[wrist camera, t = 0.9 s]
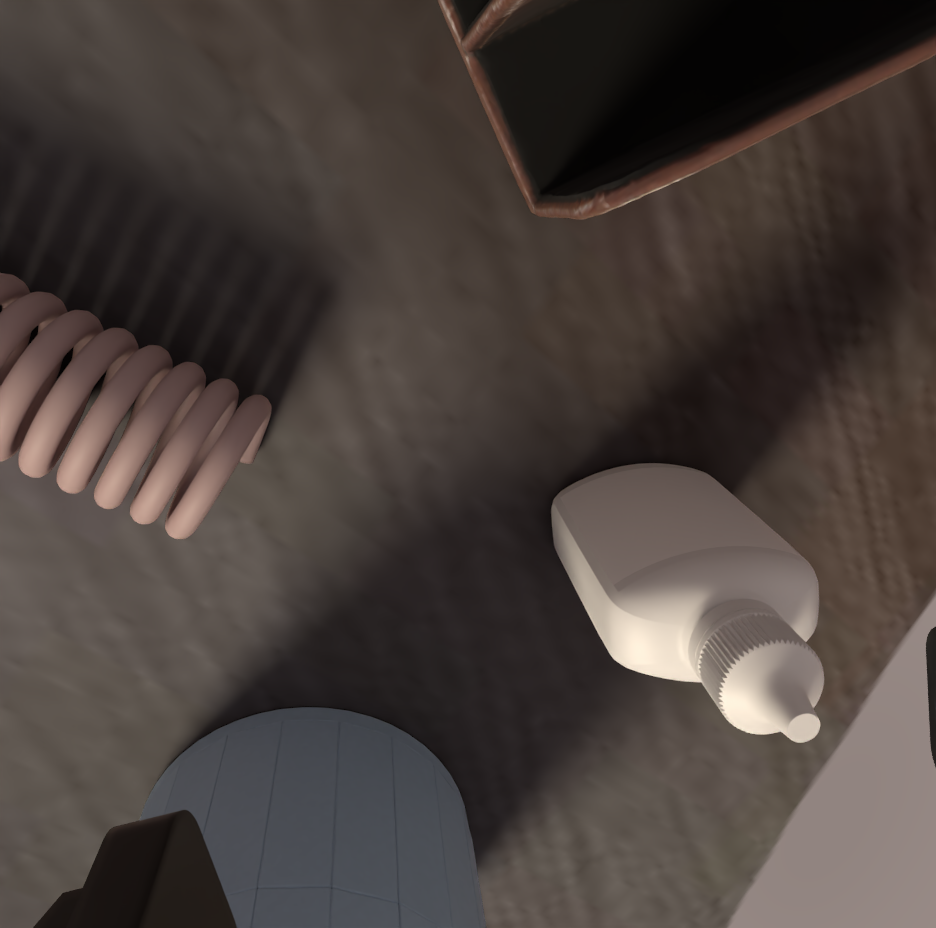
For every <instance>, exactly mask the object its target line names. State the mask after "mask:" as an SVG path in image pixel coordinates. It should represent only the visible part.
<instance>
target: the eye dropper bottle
mask: <svg viewBox="0 0 936 928" xmlns="http://www.w3.org/2000/svg"><path fill="white" fill-rule="evenodd" d="M551 519H552V531H553V541H554V547H555V549H556V552H557V554H558V556H559V558H560V560H561V562H562V564H563V566H564V568H565V570H566V572H567V574H568V576H569V578H570V580H571V582H572V584H573V586H574V588H575V590H576V592H577V594H578V595H579V597H580V599H581V601H582V603H583V605H584V607H585V609H586V611H587V613H588V615H589V617H590V619H591V621H592V623H593V624H594V626H595V628H596V630H597V632H598V634H599V636H600V638H601V639H602V641H603V643H604V645H605V647H606V648H607V650H608V652H609V654H610V655H611V656H612V657H613V659H614V660H615V661H617V662H618V663H620V664H621V665H623V666H624V667H626V668H628V669H631V670H634V671H637V672H640V673H643V674H647V675H651V676H655V677H660V678H664V679H671V680H677V681H688V682H702V684H703V685H704V687H705V688H706V690H707V691H708V693H709V694H710V696H711V697H712V699H713V700H714V702H715V703H716V705H717V707H718V708H719V710H720V711H721V713H722V714H723V716H724V717H725V718H726V720H728V721H729V723H731V724H732V725H733V726H735V727H736V728H737V729H741V731H746V732H747V733H751V734H772V733H777V732H780V731H781V732H782V733H784V734H785V735H786V736H787V737H789V738H790V739H791V740H792V741H794V742H798V743H803V742H807V741H809V740H811V739H812V738H814V737H815V736H816V735H817V733H818V732H819V729H820V721H819V719H818V717H817V715H816V713H815V711H814V709H813V708H814V707H815V705H816V704H817V702H818V700H819V698H820V696H821V693H822V690H823V685H824V672H823V667H822V663H821V662H820V659H819V658H818V656H817V654H816V653H815V652H814V651H813V650H812V649H811V648H810V647H809V645H808V644H807V643H806V641H807V640H808V639H809V638H810V637H811V636H812V634H813V633H814V630H815V628H816V625H817V621H818V611H819V589H818V580H817V577H816V575H815V572H814V569H813V568H812V566H811V565H810V564H809V562H808V561H807V560H805V559H804V558H803V557H802V556H801V555H800V554H799V553H798V552H797V551H796V550H795V549H794V548H793V547H792V546H791V545H790V544H788V543H787V542H786V541H785V540H784V539H783V538H782V537H781V536H779V535H778V534H777V533H776V532H775V531H774V530H773V529H771V528H770V527H769V526H768V525H767V524H766V523H765V522H764V521H762V520H761V519H760V518H759V517H758V516H757V515H756V514H754V513H753V512H752V511H751V510H750V509H749V508H748V507H746V506H745V505H744V504H743V503H742V502H741V501H739V500H738V499H737V498H736V497H735V496H734V495H733V494H731V493H730V492H729V491H728V490H727V489H726V488H725V487H723V486H722V485H721V484H720V483H719V482H718V481H716V480H715V479H714V478H712V477H711V476H710V475H709V474H707V473H705V472H702V471H699V470H697V469H693V468H689V467H684V466H679V465H672V464H662V463H642V464H632V465H625V466H620V467H616V468H612V469H608V470H605V471H602V472H599V473H596V474H593V475H591V476H588V477H586V478H584V479H582V480H579V481H577V482H575V483H574V484H572V485H570V486H568V487H567V488H565V489H563V490H562V491H560V492H559V494H558V495H557V496H556V497H555V498H554V500H553V503H552V507H551Z"/></svg>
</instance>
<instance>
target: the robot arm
mask: <svg viewBox="0 0 936 928" xmlns="http://www.w3.org/2000/svg"><path fill="white" fill-rule="evenodd" d="M926 654H927V655H926V657H927V677H928V698H929V699H928V700H929V721H930V741H931V751H932V756H933V760H934V763H935V767H936V627H934V628H933V629H931V631H930V632H929V634H928V637H927V642H926ZM33 928H237V926H236V923H235V920H234V917H233V914H232V911H231V909H230V906H229V903H228V901H227V898H226V896H225V893H224V890H223V888H222V885H221V882H220V880H219V877H218V875H217V872H216V869H215V867H214V864H213V862H212V859H211V856H210V854H209V851H208V848H207V846H206V843H205V841H204V838H203V835H202V833H201V830H200V828H199V825H198V823H197V821H196V819H195V817H194V816H193V815H192V814H191V812H189V811H188V810H181V811H177V812H172V813H168V814H164V815H160V816H156V817H152V818H148V819H144V820H140V821H136V822H132V823H128V824H124V825H120V826H116V827H113V828H112V829H110V830H109V831H108V833H107V834H106V836H105V838H104V840H103V842H102V844H101V847H100V849H99V851H98V854H97V856H96V858H95V861H94V863H93V865H92V868H91V870H90V872H89V875H88V877H87V879H86V882H85V884H84V886H83V888H81V889H77V890H73V891H69V892H65V893H62V895H61V896H60V897H59V898H58V899H57V900H56V902H55V903H54V904H53V905H52V906H51V907H50V909H49V910H48V911H47V912H46V913H45V914H44V916H43V917H42V918H41V919H40V920H39V921H38V923H37V924H36V925H35V926H34V927H33Z"/></svg>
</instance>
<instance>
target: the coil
mask: <svg viewBox="0 0 936 928" xmlns="http://www.w3.org/2000/svg"><path fill="white" fill-rule="evenodd" d="M0 305H2V312H0V461H4V460H6V459H8V458H10V457H12V456H13V455H14V454H15V453H16V452H17V451H18V450H19V449H20V447H21V449H20V453H19V467H20V469H21V470H22V472H23V473H24V474H26V475H28V476H30V477H42V476H44V475H46V474H47V473H49V472H50V471H51V470H52V468H53V467H54V466H55V464H56V463H57V461H58V460H59V458H60V456H61V455H62V453H63V451H64V450H65V448H66V446H67V444H68V442H69V441H70V439H71V437H72V435H73V433H74V431H75V429H76V427H77V425H78V423H79V420H80V418H81V416H82V414H83V412H84V409H85V407H86V404H87V402H88V400H89V397H90V394H91V392H92V389H93V387H94V386H95V384H96V383H97V382H98V380H99V379H100V378H101V376H102V375H103V374H104V373H105V372H106V370H107V372H106V376H105V379H104V383H103V386H102V389H101V392H100V394H99V396H98V398H97V399H96V401H95V402H94V404H93V405H92V407H91V409H90V410H89V412H88V413H87V415H86V417H85V418H84V420H83V422H82V423H81V425H80V427H79V429H78V430H77V432H76V434H75V436H74V437H73V439H72V441H71V443H70V445H69V447H68V449H67V451H66V453H65V455H64V457H63V459H62V461H61V464H60V466H59V469H58V472H57V483H58V485H59V486H60V488H61V489H62V490H63V491H65V492H67V493H78V492H80V491H82V490H84V489H85V488H86V486H87V485H88V483H89V482H90V480H91V478H92V477H93V475H94V473H95V472H96V470H97V468H98V466H99V464H100V462H101V460H102V458H103V456H104V454H105V452H106V450H107V448H108V446H109V444H110V441H111V439H112V437H113V435H114V433H115V430H116V429H117V427H118V425H119V424H120V422H121V421H122V419H123V417H124V416H125V414H126V413H127V411H128V410H129V408H130V407H131V405H132V404H133V402H134V401H135V400H136V402H135V405H134V407H133V410H132V413H131V415H130V418H129V421H128V423H127V426H126V428H125V430H124V433H123V435H122V438H121V440H120V442H119V444H118V446H117V448H116V450H115V451H114V453H113V455H112V457H111V459H110V460H109V462H108V464H107V466H106V468H105V470H104V471H103V473H102V475H101V477H100V479H99V481H98V483H97V485H96V488H95V490H94V499H95V501H96V502H97V504H98V505H99V506H101V507H103V508H105V509H114V508H115V507H117V506H119V505H120V504H121V503H122V501H123V500H124V498H125V496H126V494H127V493H128V491H129V489H130V487H131V485H132V484H133V482H134V480H135V478H136V476H137V475H138V473H139V471H140V470H141V468H142V466H143V464H144V463H145V461H146V459H147V458H148V456H149V454H150V452H151V451H152V449H153V447H154V446H155V444H156V443H157V441H158V439H159V438H160V439H159V442H158V444H157V447H156V449H155V452H154V454H153V456H152V459H151V461H150V463H149V466H148V468H147V470H146V473H145V475H144V477H143V479H142V482H141V484H140V486H139V488H138V490H137V493H136V495H135V497H134V499H133V501H132V504H131V506H130V515H131V516H132V518H133V520H134V521H136V522H138V523H140V524H150V523H152V522H153V521H155V520H157V518H158V517H159V515H160V514H161V512H162V511H163V509H164V508H165V506H166V504H167V503H168V501H169V500H170V498H171V496H172V495H173V493H174V491H175V490H176V488H177V486H178V485H179V486H178V488H177V491H176V493H175V496H174V498H173V501H172V503H171V506H170V508H169V511H168V514H167V517H166V520H165V529H166V531H167V533H168V534H169V536H171V537H173V538H175V539H185V538H187V537H189V536H190V535H192V534H193V533H194V532H195V530H196V529H197V528H198V526H199V525H200V524H201V522H202V521H203V519H204V518H205V516H206V515H207V513H208V511H209V510H210V508H211V507H212V505H213V504H214V502H215V500H216V499H217V497H218V495H219V494H220V492H221V491H222V489H223V487H224V486H225V484H226V482H227V481H228V479H229V477H230V476H231V474H232V472H233V471H234V469H235V467H236V466H237V464H238V462H243V463H248V464H251V463H253V461H254V459H255V456H256V454H257V451H258V449H259V446H260V444H261V441H262V438H263V436H264V433H265V431H266V428H267V425H268V422H269V419H270V416H271V404H270V402H269V400H268V399H267V398H266V397H264V396H263V395H252V396H250V397H248V398H246V399H245V400H244V401H243V402H242V404H241V405H240V406H239V408H238V409H237V410H236V408H237V404H238V398H239V390H238V388H237V386H236V384H235V383H234V382H232V381H231V380H229V379H223V378H220V379H218V380H215V381H213V382H212V383H210V384H209V385H208V386H207V387H206V388H205V384H206V375H205V373H204V371H203V369H202V367H200V366H199V365H197V364H196V363H194V362H184V363H181V364H179V365H177V366H175V367H174V368H173V369H172V367H173V364H172V359H171V356H170V354H169V352H168V351H167V350H165V349H164V348H162V347H161V346H157V345H148V346H146V347H143V348H141V349H139V348H138V344H137V341H136V339H135V337H134V335H133V334H131V333H130V332H129V331H127V330H126V329H123V328H110V329H107V330H105V331H104V330H103V327H102V325H101V323H100V321H99V319H98V318H97V317H96V316H94V315H93V314H92V313H90V312H89V311H83V310H73V311H70V312H67V309H66V307H65V305H64V303H63V302H62V300H60V299H59V298H58V297H56V296H55V295H53V294H52V293H46V292H33V293H30V291H29V289H28V287H27V285H26V284H25V283H24V282H23V281H22V280H20V279H19V278H17V277H16V276H14V275H11V274H4V273H0ZM36 326H38V335H37V336H36V337H35V339H34V340H33V341H32V342H31V343H30V344H29V346H28V343H29V339H30V335H31V331H32V330H33V329H34V328H35V327H36ZM27 346H28V347H27ZM73 347H74V349H73V355H72V360H71V362H70V363H69V365H68V366H67V367H66V369H65V370H64V371H63V373H62V374H61V376H60V377H59V378H58V380H57V381H56V379H57V376H58V373H59V370H60V367H61V364H62V361H63V357H64V356H65V355H66V354H67V353H68V352H69V351H70V350H71V349H72V348H73ZM55 381H56V383H55ZM136 398H137V399H136ZM160 436H161V437H160Z"/></svg>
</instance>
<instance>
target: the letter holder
mask: <svg viewBox="0 0 936 928" xmlns="http://www.w3.org/2000/svg"><path fill="white" fill-rule="evenodd" d="M438 3H439V5H440V8H441V10H442V12H443V15H444V17H445V20H446V22H447V24H448V26H449V29H450V31H451V33H452V35H453V38H454V40H455V42H456V44H457V47H458V49H459V51H460V53H461V56H462V58H463V60H464V63H465V65H466V67H467V70H468V72H469V74H470V77H471V79H472V81H473V84H474V86H475V88H476V91H477V93H478V96H479V98H480V100H481V102H482V105H483V107H484V109H485V111H486V114H487V116H488V118H489V120H490V122H491V124H492V127H493V129H494V132H495V134H496V136H497V139H498V141H499V143H500V145H501V147H502V150H503V153H504V155H505V157H506V159H507V161H508V163H509V166H510V168H511V170H512V173H513V175H514V177H515V179H516V181H517V184H518V186H519V188H520V190H521V192H522V194H523V196H524V198H525V200H526V202H527V205H528V207H529V209H530V211H531V213H533V214H535V215H537V216H541V217H548V218H549V217H552V218H553V217H558V218H559V217H560V218H571V219H578V220H579V219H587V218H590V217H593V216H597V215H601V214H604V213H606V212H608V211H611V210H613V209H615V208H618V207H621V206H623V205H625V204H627V203H629V202H631V201H634V200H637V199H640V198H641V197H643V196H645V195H647V194H649V193H652V192H655V191H657V190H659V189H661V188H663V187H665V186H668V185H670V184H672V183H674V182H677V181H679V180H681V179H683V178H686V177H688V176H690V175H692V174H695V173H697V172H699V171H701V170H703V169H705V168H707V167H709V166H711V165H714V164H716V163H718V162H720V161H722V160H724V159H726V158H728V157H730V156H732V155H734V154H736V153H738V152H740V151H742V150H744V149H746V148H748V147H750V146H752V145H754V144H756V143H758V142H760V141H762V140H764V139H766V138H768V137H770V136H772V135H774V134H776V133H778V132H780V131H782V130H784V129H786V128H788V127H790V126H792V125H794V124H796V123H798V122H800V121H802V120H804V119H806V118H808V117H810V116H812V115H815V114H817V113H819V112H821V111H823V110H825V109H827V108H829V107H831V106H833V105H835V104H837V103H839V102H841V101H843V100H845V99H847V98H849V97H851V96H853V95H855V94H857V93H860V92H862V91H863V90H865V89H867V88H869V87H871V86H873V85H876V84H878V83H880V82H882V81H884V80H886V79H888V78H890V77H892V76H895V75H897V74H899V73H901V72H903V71H905V70H907V69H910V68H912V67H914V66H916V65H918V64H919V63H921V62H923V61H925V60H928V59H930V58H931V57H932V56H934V55H936V0H438Z"/></svg>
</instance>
